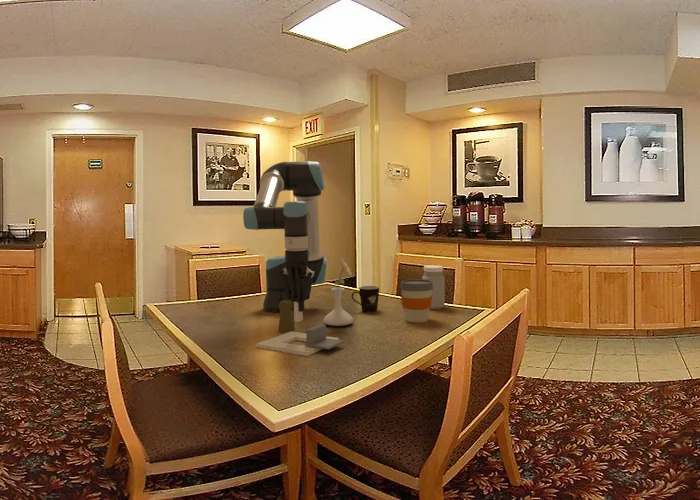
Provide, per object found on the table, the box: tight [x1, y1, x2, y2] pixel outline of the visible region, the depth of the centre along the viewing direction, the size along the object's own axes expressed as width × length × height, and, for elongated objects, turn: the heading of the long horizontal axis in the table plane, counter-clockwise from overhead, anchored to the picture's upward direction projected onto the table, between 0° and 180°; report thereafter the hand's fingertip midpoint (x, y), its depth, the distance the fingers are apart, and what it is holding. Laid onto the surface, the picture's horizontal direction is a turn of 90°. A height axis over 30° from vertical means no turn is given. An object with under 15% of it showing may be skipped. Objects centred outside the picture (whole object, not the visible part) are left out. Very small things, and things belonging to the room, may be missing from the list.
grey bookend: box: [303, 324, 345, 350], centre depth 158 cm, size 9×9×5 cm
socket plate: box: [255, 331, 340, 357], centre depth 164 cm, size 20×18×1 cm
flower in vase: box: [323, 258, 354, 327], centre depth 190 cm, size 13×11×25 cm
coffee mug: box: [351, 285, 380, 313], centre depth 214 cm, size 12×9×10 cm
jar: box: [421, 264, 446, 310], centre depth 218 cm, size 10×10×18 cm
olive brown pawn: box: [278, 300, 296, 334], centre depth 182 cm, size 6×6×11 cm
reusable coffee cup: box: [400, 278, 433, 323], centre depth 195 cm, size 13×13×15 cm
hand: (298, 320), depth 165 cm, fingers closed
